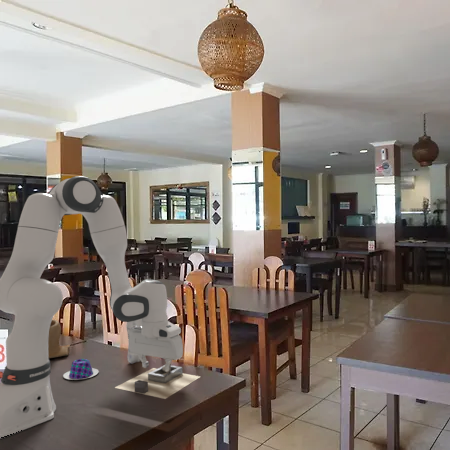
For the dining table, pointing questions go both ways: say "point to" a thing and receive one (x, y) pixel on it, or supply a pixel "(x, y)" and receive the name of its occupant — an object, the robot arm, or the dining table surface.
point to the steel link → (159, 377)
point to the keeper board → (157, 384)
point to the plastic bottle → (130, 356)
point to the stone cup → (56, 341)
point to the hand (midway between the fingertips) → (155, 369)
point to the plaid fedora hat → (80, 370)
